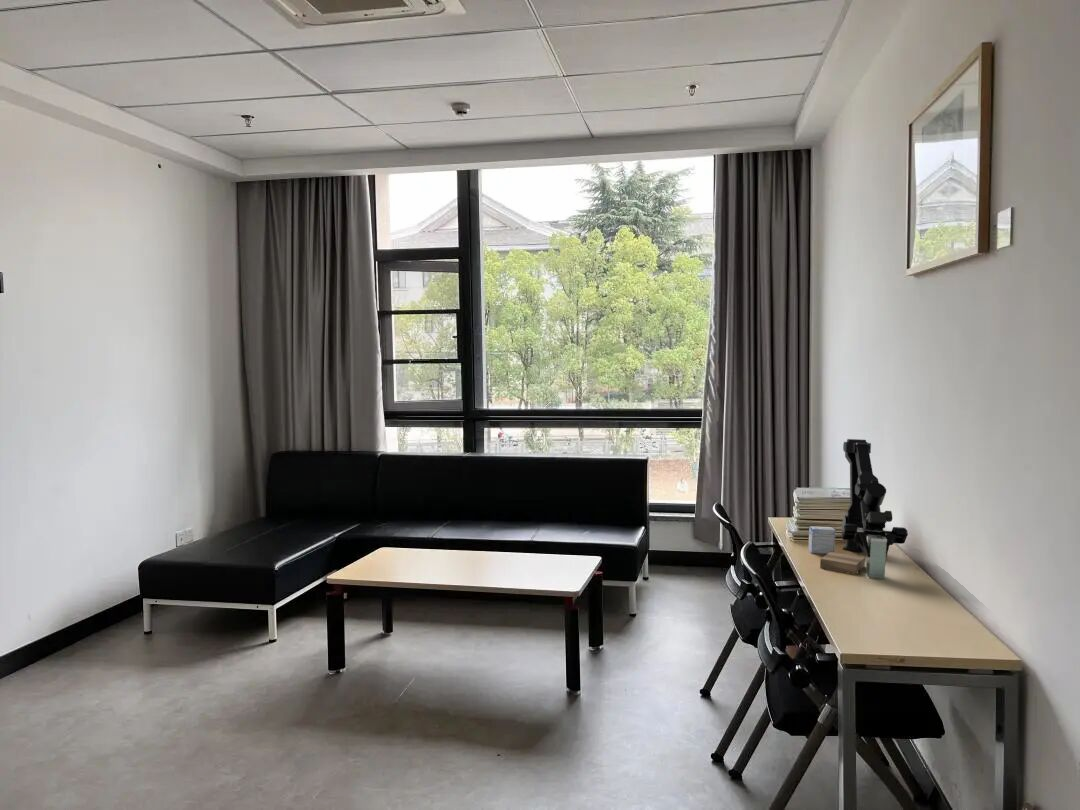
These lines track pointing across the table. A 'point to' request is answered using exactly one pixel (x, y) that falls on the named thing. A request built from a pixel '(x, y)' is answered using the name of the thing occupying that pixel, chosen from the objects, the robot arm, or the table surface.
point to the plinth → (842, 562)
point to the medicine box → (821, 540)
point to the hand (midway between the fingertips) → (877, 557)
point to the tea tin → (876, 556)
